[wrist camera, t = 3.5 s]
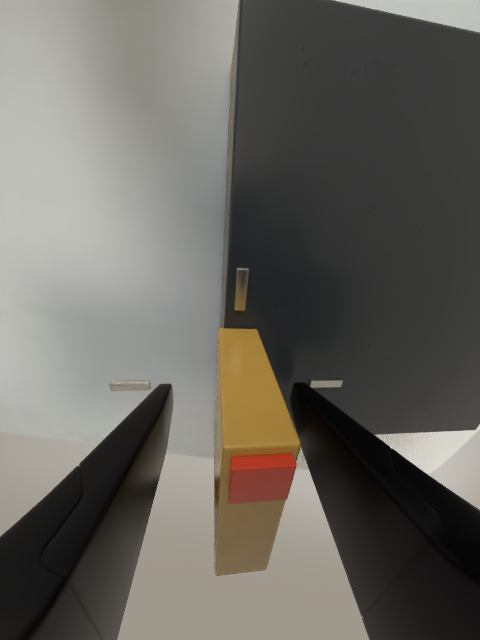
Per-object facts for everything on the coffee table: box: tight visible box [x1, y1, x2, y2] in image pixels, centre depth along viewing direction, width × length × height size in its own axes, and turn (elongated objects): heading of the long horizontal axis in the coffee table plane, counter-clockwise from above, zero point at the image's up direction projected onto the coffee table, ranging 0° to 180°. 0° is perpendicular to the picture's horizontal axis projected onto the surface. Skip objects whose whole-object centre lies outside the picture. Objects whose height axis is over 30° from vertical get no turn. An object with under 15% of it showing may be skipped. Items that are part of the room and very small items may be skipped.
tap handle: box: [214, 328, 301, 576], centre depth 7 cm, size 5×1×5 cm, turn 176°
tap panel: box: [110, 0, 480, 435], centre depth 10 cm, size 15×18×3 cm
